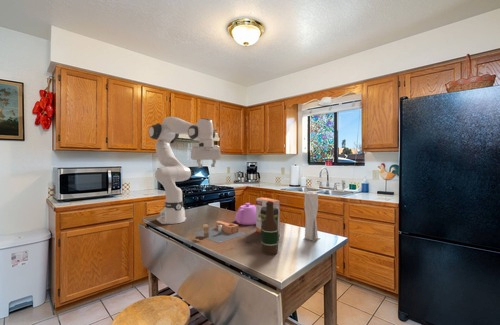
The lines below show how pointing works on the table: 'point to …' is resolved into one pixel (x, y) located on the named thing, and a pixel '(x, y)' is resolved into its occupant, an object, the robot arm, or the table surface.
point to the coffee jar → (263, 217)
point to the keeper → (206, 230)
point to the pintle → (219, 229)
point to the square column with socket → (228, 227)
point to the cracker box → (262, 203)
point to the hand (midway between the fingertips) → (206, 167)
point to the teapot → (246, 214)
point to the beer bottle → (270, 231)
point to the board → (219, 238)
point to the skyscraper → (311, 215)
